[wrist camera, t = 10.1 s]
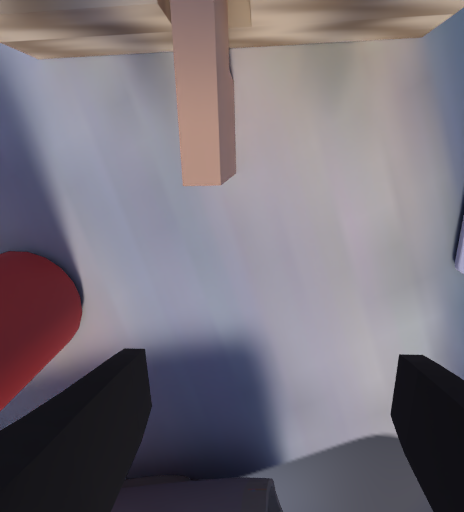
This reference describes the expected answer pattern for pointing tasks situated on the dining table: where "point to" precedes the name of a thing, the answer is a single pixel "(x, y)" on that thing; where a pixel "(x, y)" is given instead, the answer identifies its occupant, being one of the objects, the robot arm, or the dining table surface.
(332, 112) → the dining table surface
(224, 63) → the tan thin board
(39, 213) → the dining table surface
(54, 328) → the beer can
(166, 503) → the bluetooth speaker
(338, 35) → the slotted rail
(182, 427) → the dining table surface
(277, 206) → the dining table surface
